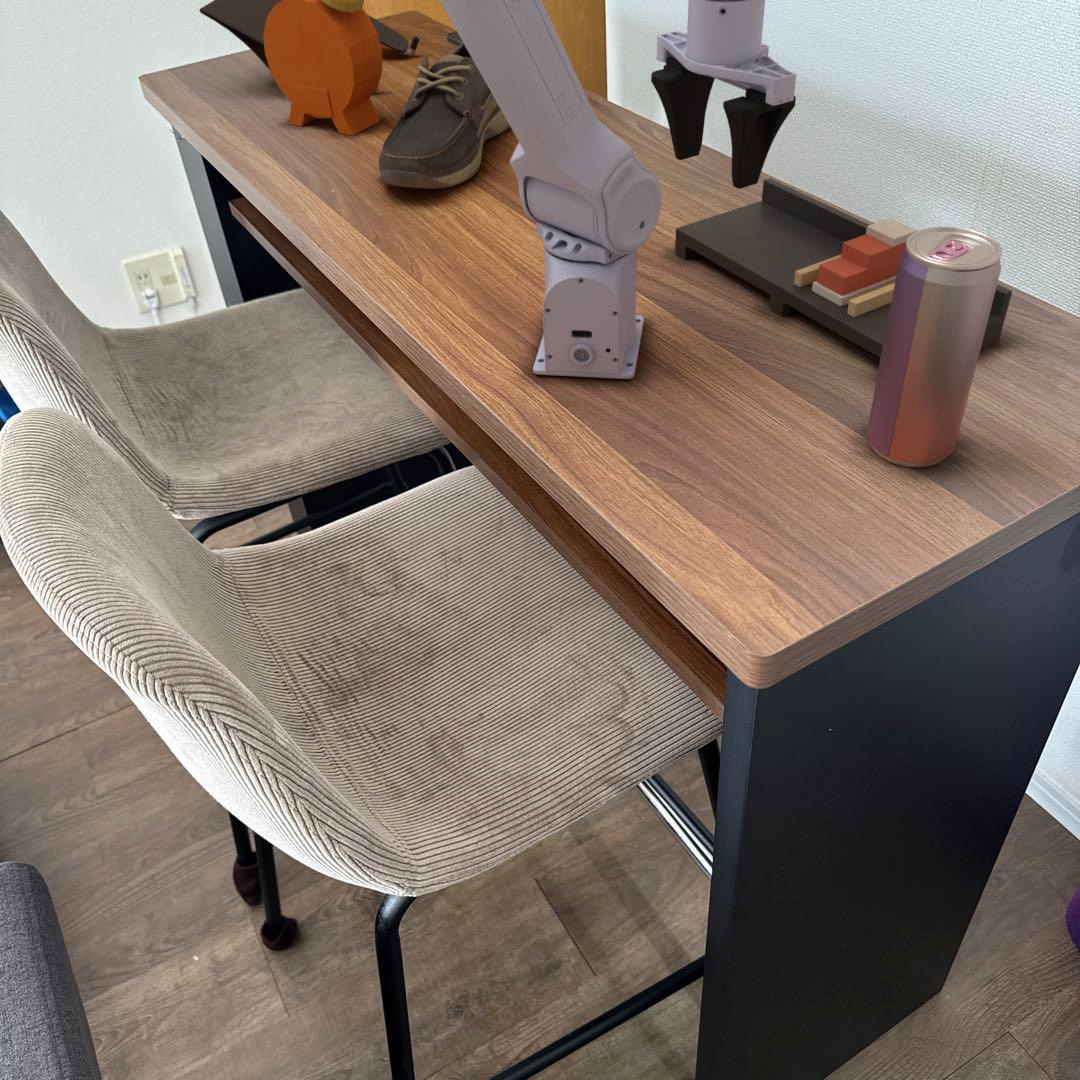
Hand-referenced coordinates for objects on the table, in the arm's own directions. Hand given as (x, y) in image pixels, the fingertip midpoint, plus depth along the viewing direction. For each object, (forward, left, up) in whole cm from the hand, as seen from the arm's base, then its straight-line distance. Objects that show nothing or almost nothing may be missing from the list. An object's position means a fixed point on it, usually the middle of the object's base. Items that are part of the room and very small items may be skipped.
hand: (715, 170), depth 88 cm
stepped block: (-5, -13, -7) cm, 15 cm away
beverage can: (-24, -15, -10) cm, 30 cm away
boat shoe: (+28, +31, -10) cm, 43 cm away
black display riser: (-2, -10, -10) cm, 14 cm away
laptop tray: (+57, +54, -10) cm, 79 cm away
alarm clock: (+38, +47, -10) cm, 61 cm away
